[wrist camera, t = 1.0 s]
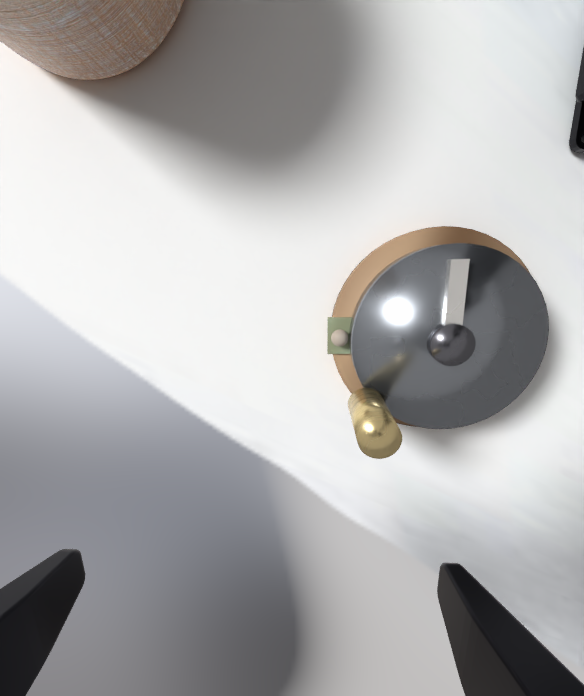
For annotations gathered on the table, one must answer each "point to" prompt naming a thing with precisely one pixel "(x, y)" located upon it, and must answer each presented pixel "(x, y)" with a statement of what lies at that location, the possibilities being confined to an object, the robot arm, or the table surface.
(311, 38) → the table surface
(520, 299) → the dial
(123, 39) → the planter
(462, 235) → the stand
